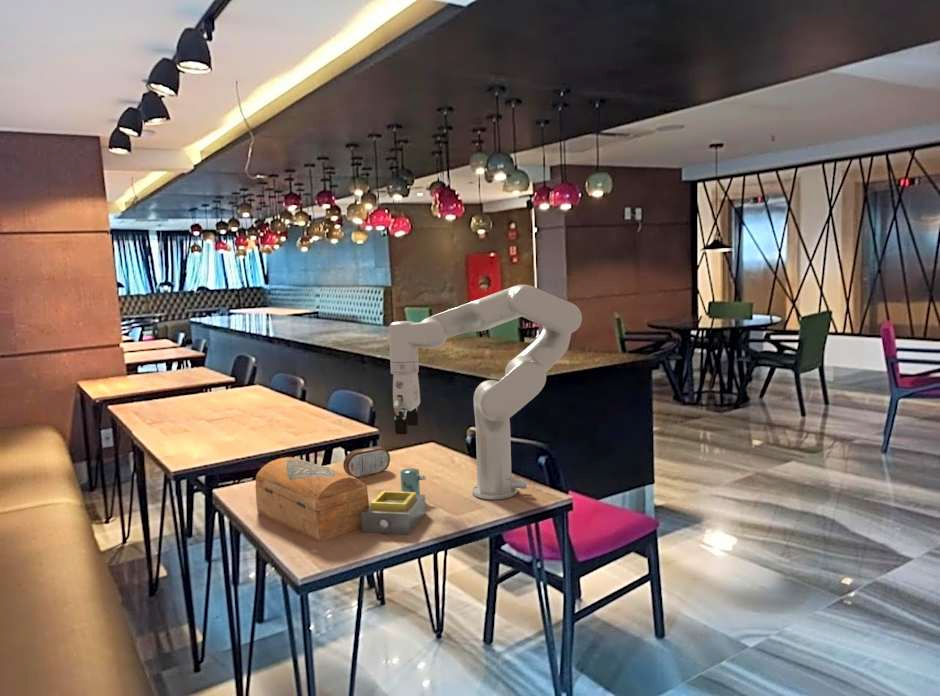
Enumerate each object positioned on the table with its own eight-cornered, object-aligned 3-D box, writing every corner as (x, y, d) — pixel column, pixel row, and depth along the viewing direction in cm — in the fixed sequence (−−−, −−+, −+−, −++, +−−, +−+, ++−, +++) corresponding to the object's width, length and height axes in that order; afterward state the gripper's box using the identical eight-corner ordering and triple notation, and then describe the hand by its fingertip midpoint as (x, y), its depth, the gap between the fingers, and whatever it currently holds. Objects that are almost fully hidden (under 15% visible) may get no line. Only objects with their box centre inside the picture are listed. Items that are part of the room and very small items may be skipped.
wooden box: (374, 524, 172) (371, 470, 171) (317, 544, 161) (313, 487, 159) (310, 497, 194) (307, 450, 192) (256, 514, 182) (252, 463, 181)
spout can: (428, 496, 191) (427, 468, 190) (423, 503, 186) (422, 474, 185) (405, 495, 192) (403, 468, 191) (399, 502, 187) (398, 473, 186)
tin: (387, 469, 218) (386, 443, 217) (392, 471, 216) (390, 445, 215) (343, 478, 210) (342, 452, 209) (348, 481, 207) (346, 454, 206)
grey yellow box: (425, 513, 178) (424, 489, 177) (407, 537, 163) (406, 510, 162) (381, 511, 180) (380, 487, 180) (359, 534, 165) (358, 508, 165)
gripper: (408, 372, 175) (410, 437, 177) (426, 362, 192) (428, 422, 194) (380, 372, 177) (383, 437, 179) (401, 362, 194) (403, 422, 196)
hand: (407, 429), depth 187 cm, fingers open, 9 cm apart
